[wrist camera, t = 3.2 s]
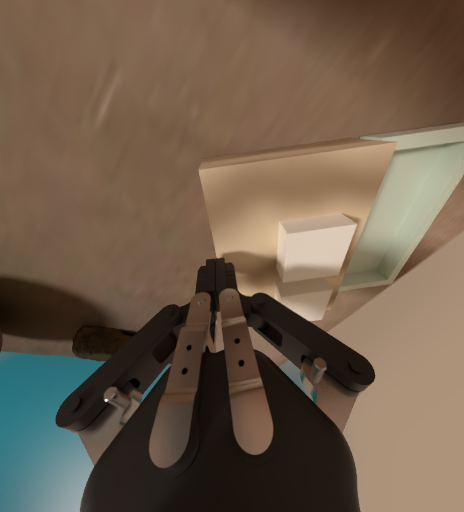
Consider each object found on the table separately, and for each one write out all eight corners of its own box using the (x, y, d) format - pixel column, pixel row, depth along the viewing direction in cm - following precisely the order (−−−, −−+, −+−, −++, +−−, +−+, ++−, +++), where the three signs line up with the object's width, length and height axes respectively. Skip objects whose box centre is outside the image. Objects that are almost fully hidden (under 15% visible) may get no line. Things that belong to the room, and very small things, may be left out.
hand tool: (195, 340, 34) (193, 366, 30) (187, 349, 36) (184, 375, 32) (85, 315, 27) (64, 345, 23) (81, 328, 28) (61, 358, 25)
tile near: (279, 221, 14) (287, 233, 12) (340, 212, 14) (357, 223, 12) (276, 268, 17) (282, 282, 15) (326, 260, 17) (338, 274, 15)
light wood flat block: (202, 158, 15) (198, 169, 11) (348, 138, 15) (397, 141, 11) (228, 293, 26) (230, 323, 22) (312, 281, 26) (330, 309, 22)
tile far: (275, 282, 18) (281, 297, 16) (322, 275, 18) (332, 289, 16) (273, 310, 21) (278, 325, 19) (313, 304, 21) (322, 319, 19)
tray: (360, 136, 15) (382, 137, 13) (461, 122, 15) (498, 121, 13) (319, 280, 26) (328, 293, 24) (377, 272, 26) (391, 284, 24)
